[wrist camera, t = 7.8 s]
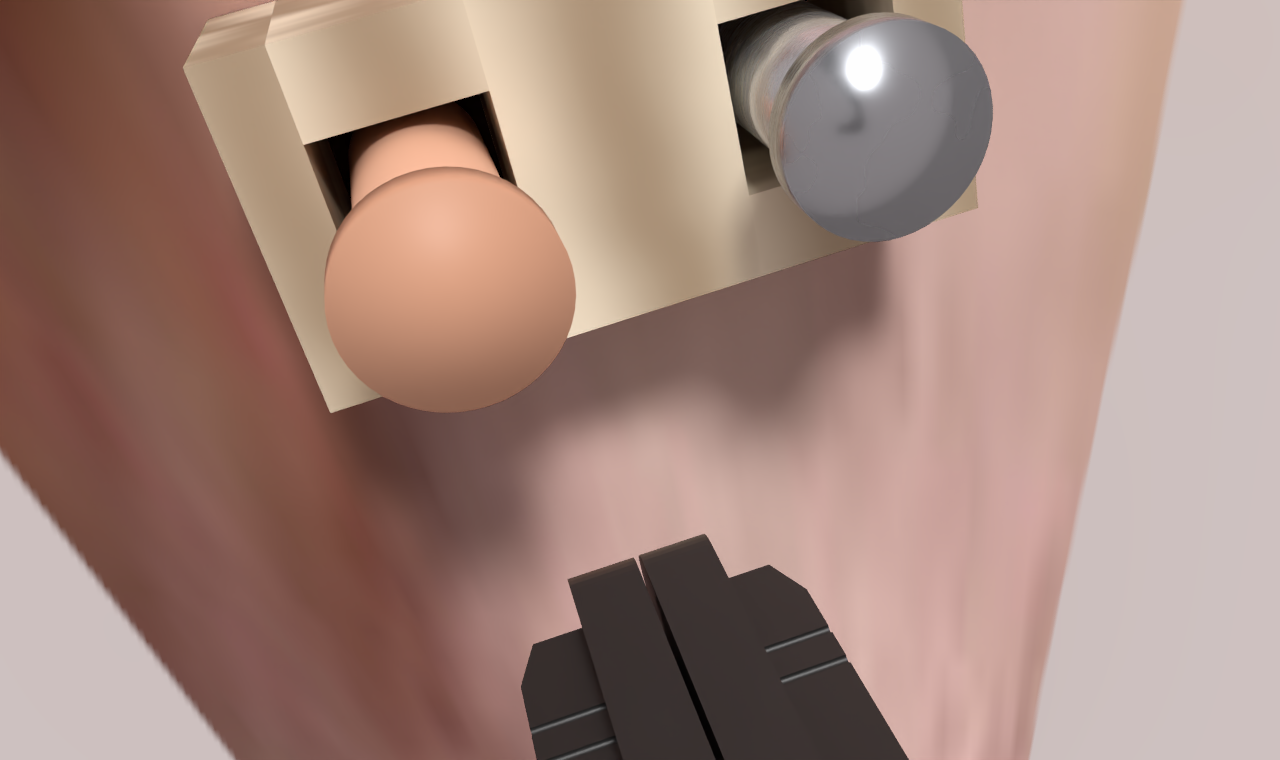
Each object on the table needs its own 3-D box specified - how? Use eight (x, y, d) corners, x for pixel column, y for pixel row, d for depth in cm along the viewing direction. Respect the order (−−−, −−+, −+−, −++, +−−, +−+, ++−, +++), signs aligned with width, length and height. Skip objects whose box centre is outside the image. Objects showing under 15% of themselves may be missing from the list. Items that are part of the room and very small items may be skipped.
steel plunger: (681, 147, 34) (802, 268, 25) (646, -16, 32) (767, 57, 23) (830, 101, 34) (999, 205, 26) (807, -62, 32) (985, -8, 23)
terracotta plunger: (361, 264, 31) (374, 442, 23) (297, 97, 29) (285, 226, 20) (527, 213, 32) (601, 370, 23) (477, 44, 30) (540, 149, 21)
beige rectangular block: (330, 318, 34) (330, 412, 29) (208, 19, 30) (182, 68, 24) (884, 147, 36) (977, 207, 31) (848, -159, 31) (950, -149, 26)
